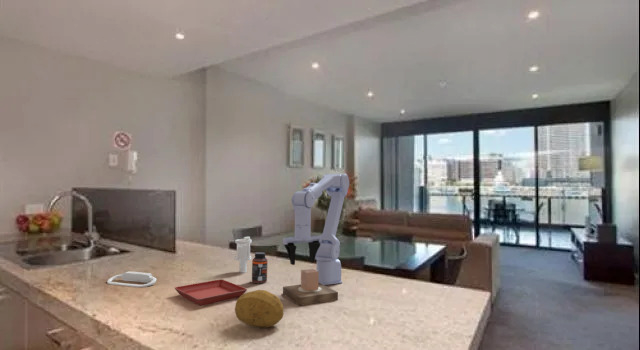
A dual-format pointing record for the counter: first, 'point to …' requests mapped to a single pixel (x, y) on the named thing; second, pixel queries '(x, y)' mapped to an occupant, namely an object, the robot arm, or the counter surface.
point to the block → (309, 279)
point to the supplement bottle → (259, 268)
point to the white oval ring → (134, 279)
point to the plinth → (310, 294)
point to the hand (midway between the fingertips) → (302, 263)
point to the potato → (259, 309)
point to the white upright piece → (243, 253)
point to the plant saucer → (211, 292)
